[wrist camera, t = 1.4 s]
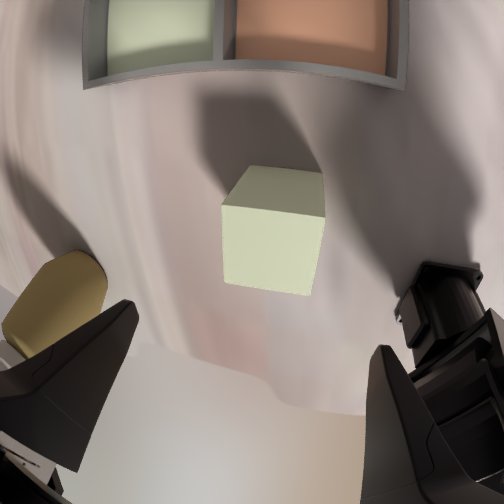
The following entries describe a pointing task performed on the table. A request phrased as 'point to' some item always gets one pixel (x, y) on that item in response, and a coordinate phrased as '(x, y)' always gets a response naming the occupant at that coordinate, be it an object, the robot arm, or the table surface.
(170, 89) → the table surface
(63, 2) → the table surface
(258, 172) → the sage block
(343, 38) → the board
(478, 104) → the table surface
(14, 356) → the squeeze bottle
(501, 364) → the robot arm
